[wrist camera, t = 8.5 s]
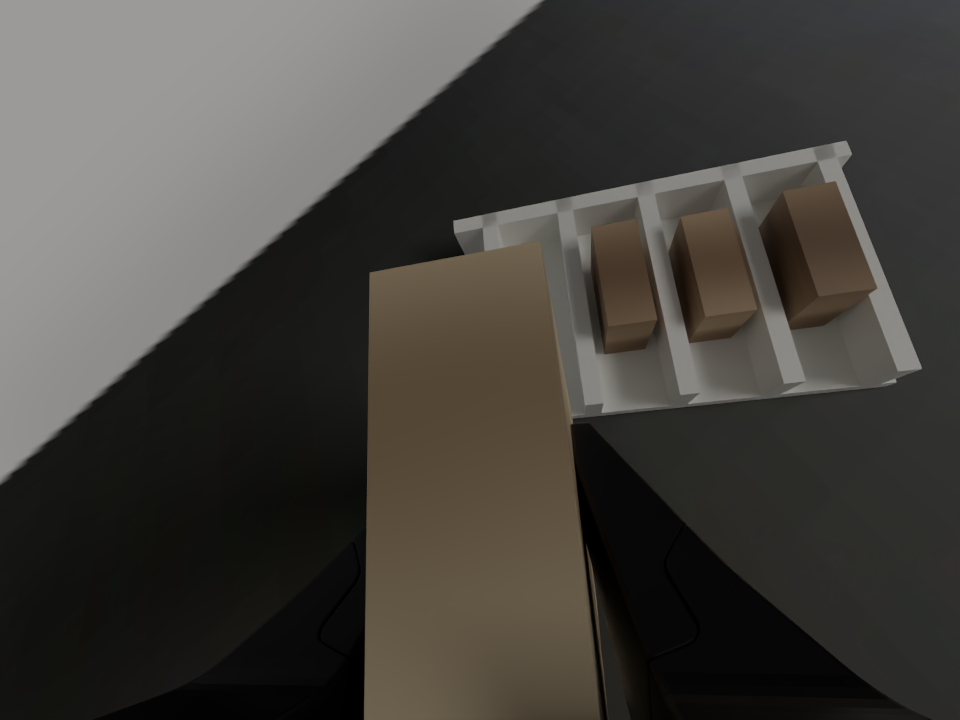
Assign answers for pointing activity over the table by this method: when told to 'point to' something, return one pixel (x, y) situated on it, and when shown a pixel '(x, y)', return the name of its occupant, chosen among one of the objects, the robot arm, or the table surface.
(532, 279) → the oak board
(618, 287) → the walnut offcut
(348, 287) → the table surface
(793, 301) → the walnut offcut
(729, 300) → the walnut offcut
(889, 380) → the offcut rack
